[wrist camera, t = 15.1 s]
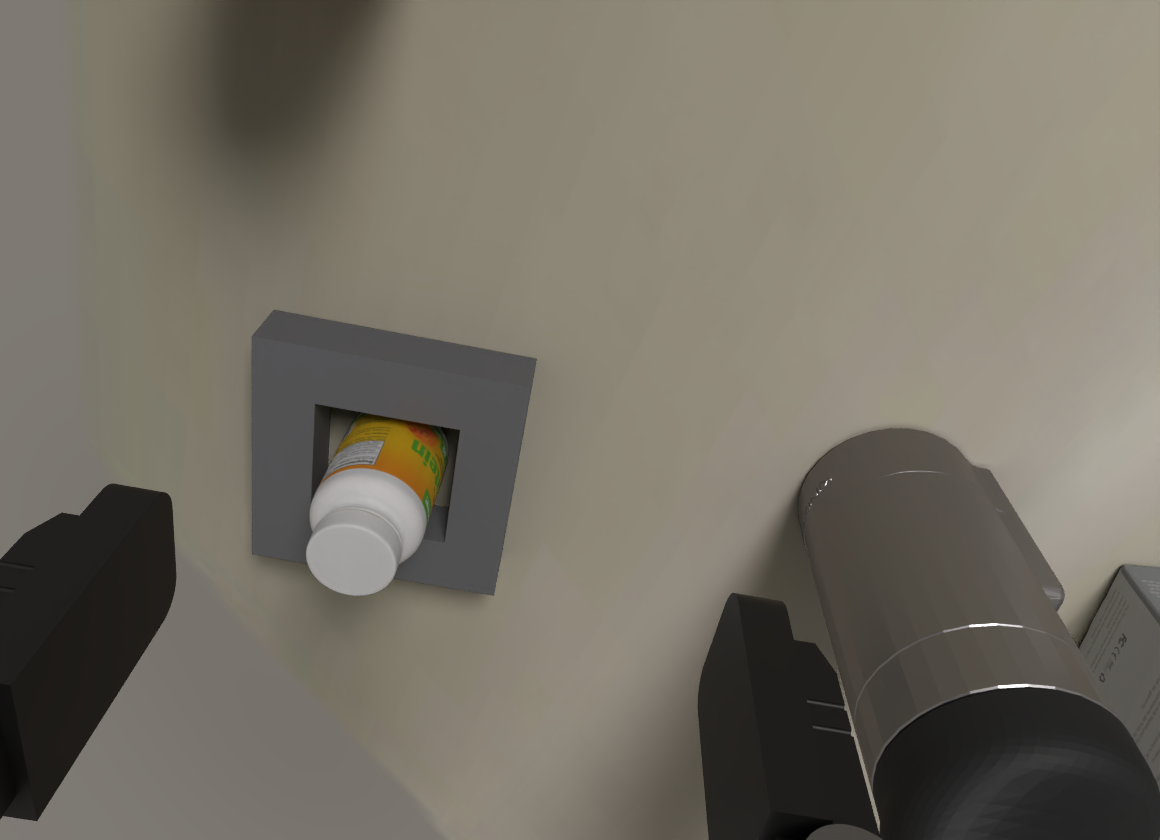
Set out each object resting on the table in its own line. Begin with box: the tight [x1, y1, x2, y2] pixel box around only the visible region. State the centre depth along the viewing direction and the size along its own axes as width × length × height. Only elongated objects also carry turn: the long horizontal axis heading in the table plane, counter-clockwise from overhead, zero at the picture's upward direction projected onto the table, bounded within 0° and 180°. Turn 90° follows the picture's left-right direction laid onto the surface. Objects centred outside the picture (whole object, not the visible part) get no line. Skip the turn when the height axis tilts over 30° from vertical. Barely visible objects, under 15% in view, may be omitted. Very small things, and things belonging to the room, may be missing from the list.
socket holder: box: [252, 310, 537, 596], centre depth 46 cm, size 13×13×3 cm
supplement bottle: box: [306, 412, 449, 596], centre depth 44 cm, size 5×5×10 cm
